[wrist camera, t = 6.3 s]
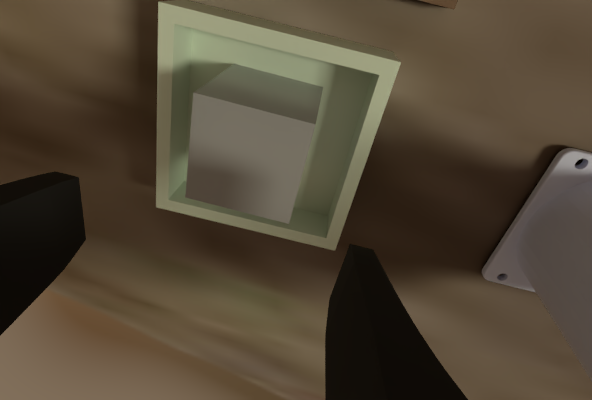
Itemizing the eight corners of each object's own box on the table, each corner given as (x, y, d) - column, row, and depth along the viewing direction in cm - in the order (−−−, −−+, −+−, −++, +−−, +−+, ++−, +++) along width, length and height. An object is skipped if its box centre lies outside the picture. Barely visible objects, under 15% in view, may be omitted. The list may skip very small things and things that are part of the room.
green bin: (392, 51, 15) (401, 62, 13) (336, 222, 20) (334, 250, 18) (184, -1, 15) (158, 1, 13) (176, 183, 20) (155, 207, 18)
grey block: (323, 87, 16) (315, 124, 12) (302, 167, 18) (289, 223, 14) (234, 63, 16) (193, 92, 11) (223, 146, 18) (185, 197, 14)
